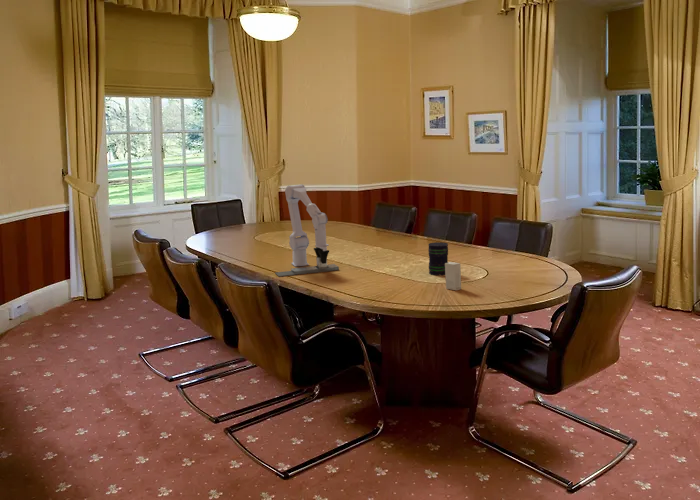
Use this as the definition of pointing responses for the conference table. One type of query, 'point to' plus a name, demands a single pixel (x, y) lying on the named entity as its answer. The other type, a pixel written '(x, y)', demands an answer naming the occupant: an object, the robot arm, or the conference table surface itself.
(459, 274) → the skincare box
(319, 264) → the pale grey square block
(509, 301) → the conference table surface
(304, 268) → the rail
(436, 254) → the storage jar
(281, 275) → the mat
